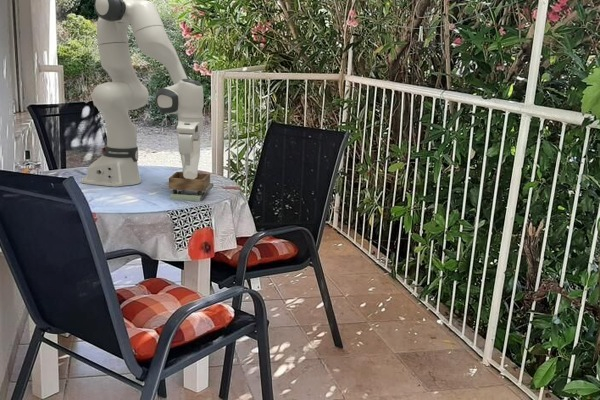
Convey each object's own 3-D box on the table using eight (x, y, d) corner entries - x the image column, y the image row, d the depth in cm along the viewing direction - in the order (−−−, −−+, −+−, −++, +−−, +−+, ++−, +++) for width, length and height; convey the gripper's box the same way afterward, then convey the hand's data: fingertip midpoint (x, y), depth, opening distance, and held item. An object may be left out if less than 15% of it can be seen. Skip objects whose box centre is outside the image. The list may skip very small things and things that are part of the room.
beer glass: (203, 181, 220) (203, 140, 217) (187, 183, 216) (187, 141, 212) (192, 177, 225) (192, 137, 222) (176, 179, 220) (176, 139, 217)
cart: (168, 195, 215) (168, 178, 214) (176, 187, 228) (176, 171, 226) (203, 197, 215) (203, 180, 214) (209, 189, 228) (210, 173, 226)
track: (170, 199, 215) (170, 194, 214) (186, 183, 241) (186, 179, 241) (200, 201, 215) (200, 195, 214) (213, 185, 241) (213, 180, 241)
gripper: (187, 122, 226) (187, 158, 229) (175, 128, 206) (174, 167, 209) (204, 123, 226) (203, 159, 229) (193, 129, 206) (192, 169, 209)
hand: (189, 163), depth 219 cm, fingers closed on beer glass, 5 cm apart
